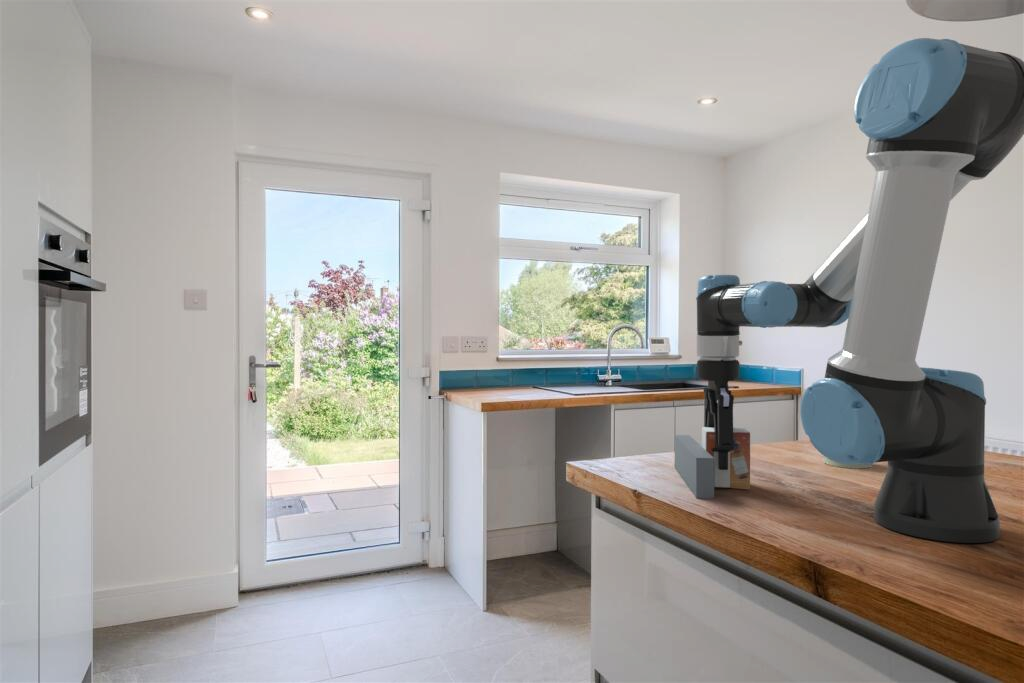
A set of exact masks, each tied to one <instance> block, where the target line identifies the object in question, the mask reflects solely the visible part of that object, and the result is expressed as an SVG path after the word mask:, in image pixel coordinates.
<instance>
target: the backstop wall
mask: <svg viewBox="0 0 1024 683" xmlns="http://www.w3.org/2000/svg"><path fill="white" fill-rule="evenodd" d="M674 470H676V472H677V474H678V475H679V476H680V477H681V479H682V481H683V482H684V483H685V484H686V486H687V487H688V489H689V491H690V492H691V493H692V494H693V495H694V497H695V498H696V499H715V487H714V457H712V456H711V455H710V454H709V453H708V452H707V451H706V450H705V449H704V448H703V447H702V445H701V444H700V443H698V441H696V439H694V437H692V436H690V435H689V434H674Z"/></svg>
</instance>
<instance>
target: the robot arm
mask: <svg viewBox="0 0 1024 683" xmlns="http://www.w3.org/2000/svg"><path fill="white" fill-rule="evenodd" d="M853 105H854V107H853V108H854V109H853V110H854V112H853V114H854V120H855V123H857V125H858V128H859V130H860V131H861V132H862V133H863V134H864V135H865V136H867V137H868V138H869V139H868V144H867V148H866V153H865V154H866V155H865V158H866V160H867V161H868V162H869V163H870V164H871V166H872V168H874V170H875V177H874V183H873V187H872V193H871V198H870V204H869V209H868V212H866V214H864V216H863V217H862V218H861V219H860V220H859V221H858V223H857V224H856V225H855V226H854V227H853V229H852V230H850V231H849V232H848V233H847V235H846V236H845V237H844V238H843V239H842V241H841V242H840V243H839V244H838V245H837V246H836V247H835V248H834V250H832V252H831V253H830V254H829V255H828V256H827V258H826V259H825V260H824V261H823V262H822V263H821V264H820V265H819V266H818V268H816V270H815V271H814V272H813V274H811V276H810V277H808V278H807V280H806V281H805V282H804V283H785V282H783V281H782V282H781V281H772V280H771V281H769V280H768V281H766V280H764V281H759V282H754V283H753V282H752V283H744V284H743V283H742V284H741V281H740V278H739V276H738V275H735V274H713V275H709V274H708V275H703V276H701V277H700V278H698V281H697V292H696V296H695V297H696V298H695V301H696V326H697V327H696V331H697V332H696V333H697V334H696V356H697V357H699V359H698V360H697V361H696V376H697V379H699V380H701V381H708V383H707V387H704V388H703V394H704V397H703V398H704V410H703V413H704V415H703V417H704V418H703V427H714V432H715V448H711V450H712V452H714V488H721V487H730V451H731V450H733V448H734V446H733V428H734V400H735V396H734V394H732V391H731V390H730V389H729V382H731V381H734V382H735V381H737V380H739V378H740V361H739V360H738V359H737V358H738V357H739V356H740V346H743V341H742V340H740V335H741V331H740V328H741V327H745V328H746V327H752V328H783V327H785V328H786V327H789V328H792V327H799V328H801V327H802V328H828V327H835V326H839V325H841V324H844V323H845V322H846V321H847V324H846V329H845V333H844V339H843V345H842V348H841V350H839V351H837V352H836V353H835V354H833V355H832V356H830V357H828V359H827V364H826V367H825V373H824V378H822V379H818V380H816V381H814V382H812V384H811V386H807V388H805V390H804V392H803V395H802V398H801V400H800V406H799V410H800V415H799V416H800V420H801V426H802V428H803V430H804V432H805V435H807V437H808V438H809V442H810V443H811V444H812V446H813V447H814V448H815V449H816V450H817V451H818V453H820V454H821V455H823V457H824V456H825V457H827V458H828V459H830V460H832V461H835V462H838V463H842V464H860V465H869V464H871V465H872V464H875V463H883V462H887V470H886V473H885V476H884V479H883V481H882V484H881V486H880V488H879V491H878V494H877V496H876V499H875V502H874V505H873V506H874V508H873V510H874V511H873V512H874V513H873V517H874V518H873V519H874V521H875V522H876V523H877V524H879V525H881V526H882V527H884V528H886V529H888V530H892V531H894V532H897V533H900V534H905V535H909V536H913V537H918V538H922V539H927V540H933V541H939V542H947V543H948V542H949V543H960V544H961V543H962V544H980V543H981V544H983V543H989V542H994V541H996V540H998V539H1000V537H1001V525H1000V524H1001V521H1000V517H999V515H998V512H997V509H996V507H995V504H994V502H993V499H992V496H991V494H990V491H989V489H988V486H987V483H986V480H985V436H986V435H985V432H986V430H985V429H986V428H985V423H986V419H985V418H986V417H985V416H986V404H987V399H986V397H985V384H984V381H983V378H981V377H980V376H979V375H977V374H975V373H972V372H969V371H968V372H967V371H961V370H954V369H953V370H952V369H942V368H941V369H940V368H935V367H934V368H932V367H920V366H919V365H918V364H917V363H918V362H917V361H916V358H917V353H918V348H919V345H920V339H921V335H922V330H923V326H924V321H925V317H926V313H927V312H926V311H927V307H928V304H929V299H930V295H931V290H932V289H931V288H932V285H933V280H934V275H935V271H936V266H937V263H938V257H939V252H940V249H941V243H942V239H943V235H944V230H945V224H946V222H947V216H948V210H949V208H950V207H949V206H950V203H951V201H952V200H953V199H954V198H955V197H956V196H957V195H958V194H959V193H960V192H962V190H963V189H964V188H965V187H966V186H967V185H968V184H969V183H970V182H971V181H979V180H984V179H985V178H986V177H987V176H988V175H989V174H990V173H991V172H992V171H994V169H995V168H996V167H998V166H999V165H1000V164H1001V163H1002V162H1003V160H1004V159H1006V157H1008V155H1009V154H1010V153H1011V152H1012V151H1013V149H1014V148H1015V147H1016V145H1017V144H1018V143H1019V141H1021V139H1022V137H1024V60H1023V59H1021V58H1019V57H1017V56H1015V55H1012V54H1009V53H1006V52H1001V51H993V50H990V49H986V48H981V47H977V46H971V45H969V44H963V43H961V42H960V43H959V42H958V41H957V40H954V39H949V38H943V39H942V38H941V39H936V38H931V37H929V38H928V37H920V38H915V39H914V38H913V39H911V40H907V41H904V42H903V43H900V44H898V45H897V46H895V47H893V48H892V49H890V50H889V51H887V52H886V53H885V54H883V56H882V57H881V58H880V60H879V61H878V63H875V64H873V65H872V66H871V68H870V69H869V71H868V72H867V73H866V75H865V76H864V78H863V80H862V82H861V84H860V85H859V88H858V91H857V93H856V96H855V100H854V104H853Z"/></svg>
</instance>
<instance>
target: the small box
mask: <svg viewBox="0 0 1024 683" xmlns="http://www.w3.org/2000/svg"><path fill="white" fill-rule="evenodd" d="M701 446H702V447H703V448H704V449H705V450H706V451H707V452H708V453H709V454H710V455H711V456H712V457H714V452H712V450H711V448H715V432H714V427H704V426H701ZM733 446H734V448H733V450H731V451H730V487H720V488H724V489H740V490H750V489H751V432H750V431H749V430H747V428H746V427H741V426H740V427H733Z"/></svg>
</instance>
